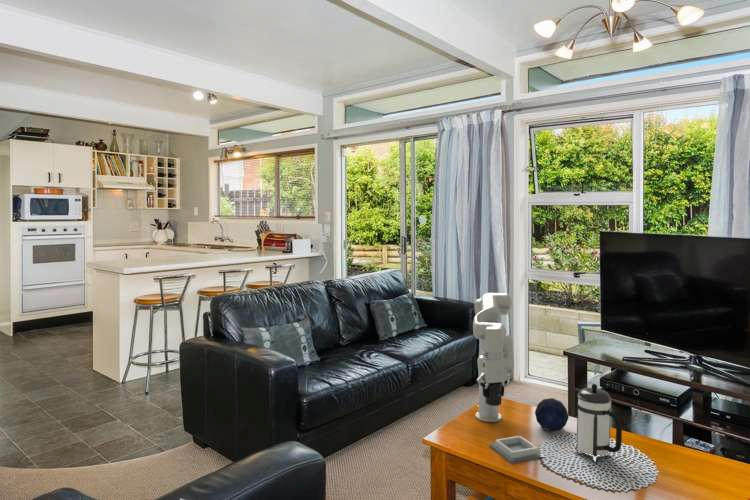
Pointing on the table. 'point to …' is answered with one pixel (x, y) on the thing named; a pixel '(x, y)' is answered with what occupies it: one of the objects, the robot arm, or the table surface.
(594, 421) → the coffee press
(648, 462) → the table surface
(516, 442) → the rimmed tray
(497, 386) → the supplement bottle
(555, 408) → the decorative orb
